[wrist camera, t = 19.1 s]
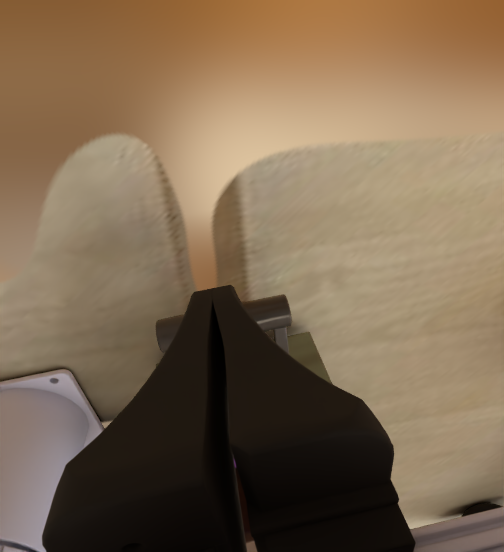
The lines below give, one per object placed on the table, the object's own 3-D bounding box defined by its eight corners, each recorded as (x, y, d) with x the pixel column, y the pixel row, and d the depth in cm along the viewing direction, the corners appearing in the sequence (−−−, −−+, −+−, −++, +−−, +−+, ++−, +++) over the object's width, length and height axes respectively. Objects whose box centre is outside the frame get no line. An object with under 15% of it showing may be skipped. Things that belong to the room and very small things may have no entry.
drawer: (124, 282, 19) (99, 375, 14) (304, 247, 20) (349, 322, 14) (197, 467, 29) (200, 564, 24) (316, 440, 30) (345, 528, 24)
